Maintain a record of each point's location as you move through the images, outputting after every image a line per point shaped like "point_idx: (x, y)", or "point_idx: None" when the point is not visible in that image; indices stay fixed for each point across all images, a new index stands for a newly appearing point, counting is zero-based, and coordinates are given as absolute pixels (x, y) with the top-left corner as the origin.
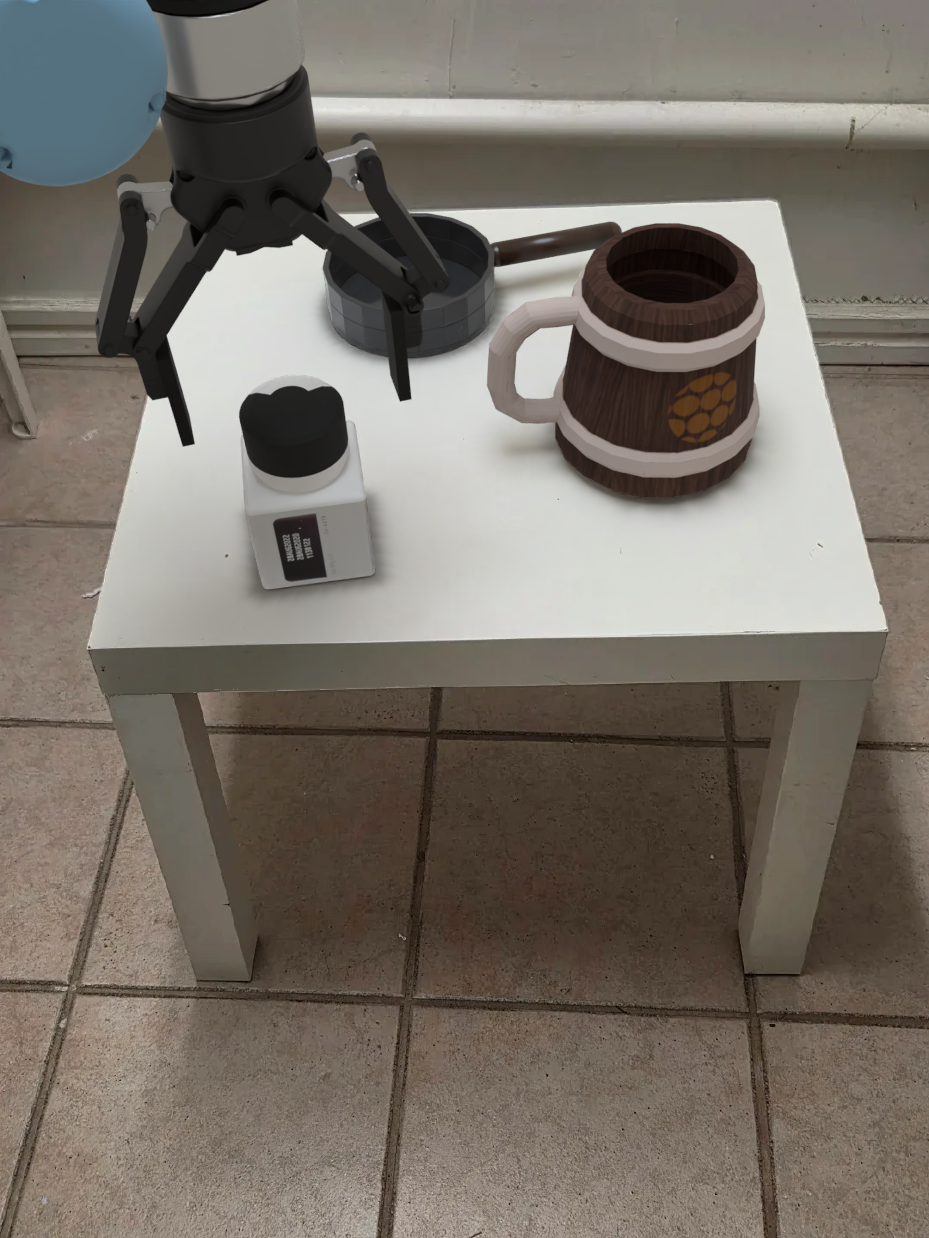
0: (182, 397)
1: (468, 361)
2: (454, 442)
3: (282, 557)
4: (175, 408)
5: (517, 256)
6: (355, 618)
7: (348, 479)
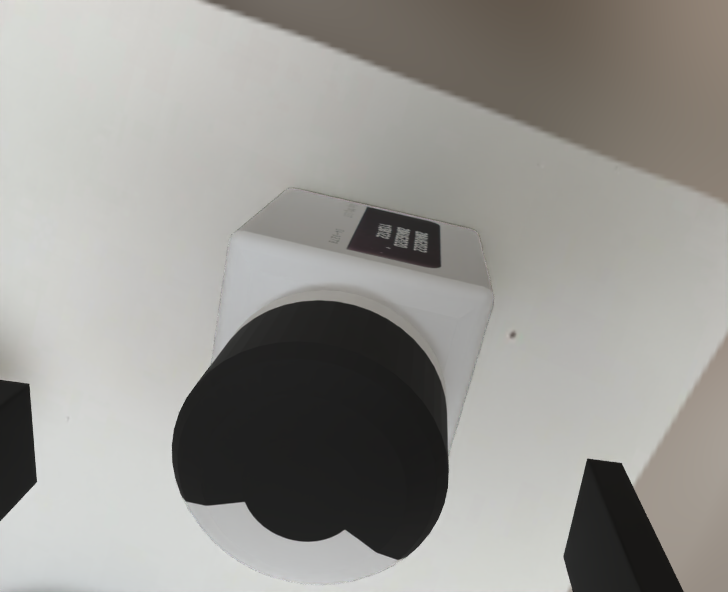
0: (613, 588)
1: (23, 565)
2: (83, 418)
3: (436, 238)
4: (652, 554)
5: None
6: (347, 105)
7: (249, 293)
